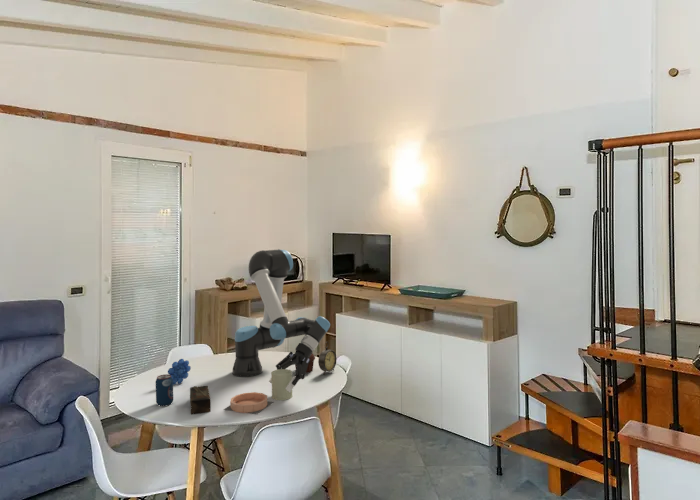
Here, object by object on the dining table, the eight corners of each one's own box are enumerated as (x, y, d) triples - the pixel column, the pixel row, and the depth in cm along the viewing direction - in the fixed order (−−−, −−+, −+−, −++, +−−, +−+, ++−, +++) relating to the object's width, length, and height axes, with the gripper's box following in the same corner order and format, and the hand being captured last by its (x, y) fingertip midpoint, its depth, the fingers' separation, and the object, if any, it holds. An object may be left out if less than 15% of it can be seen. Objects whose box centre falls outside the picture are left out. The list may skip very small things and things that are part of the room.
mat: (223, 411, 193) (223, 409, 193) (242, 399, 206) (242, 397, 206) (257, 415, 188) (257, 414, 188) (274, 403, 201) (274, 402, 201)
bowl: (223, 410, 192) (223, 403, 192) (243, 397, 207) (243, 390, 206) (255, 414, 187) (255, 407, 187) (273, 401, 201) (273, 394, 201)
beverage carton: (208, 398, 209) (208, 383, 209) (211, 414, 191) (210, 398, 191) (189, 400, 206) (189, 385, 206) (190, 417, 188) (190, 400, 188)
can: (288, 402, 202) (288, 374, 201) (268, 401, 204) (267, 373, 203) (295, 394, 211) (294, 368, 210) (276, 393, 213) (275, 367, 212)
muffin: (316, 367, 252) (315, 348, 252) (315, 373, 241) (314, 354, 241) (293, 367, 252) (293, 349, 251) (292, 374, 241) (291, 354, 240)
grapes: (187, 378, 236) (186, 355, 235) (193, 381, 231) (192, 357, 230) (164, 384, 228) (163, 360, 227) (169, 387, 223) (169, 362, 222)
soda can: (173, 405, 200) (172, 377, 200) (155, 407, 198) (154, 379, 197) (173, 399, 207) (172, 373, 206) (156, 402, 204) (155, 375, 204)
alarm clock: (325, 376, 236) (324, 344, 235) (316, 374, 239) (316, 343, 238) (337, 370, 245) (336, 339, 245) (328, 369, 248) (328, 338, 247)
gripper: (286, 337, 223) (259, 375, 214) (317, 347, 204) (289, 389, 195) (296, 346, 226) (269, 384, 217) (327, 356, 207) (300, 398, 198)
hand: (279, 386), depth 206 cm, fingers open, 13 cm apart
